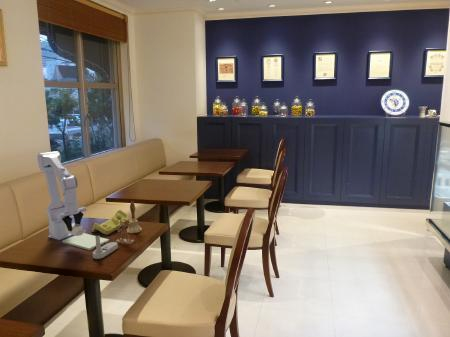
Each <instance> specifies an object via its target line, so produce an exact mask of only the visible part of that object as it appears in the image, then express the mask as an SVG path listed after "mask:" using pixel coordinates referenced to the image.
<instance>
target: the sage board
mask: <svg viewBox="0 0 450 337" xmlns="http://www.w3.org/2000/svg"><path fill="white" fill-rule="evenodd" d="M96 236H97V235H93V234H89V233H87V232H85V233H83V234H82V235H80V236H76V235H72V236H70V237H67V238H66V239H65V238H64V239H62V243H63V244H66V245H70V246H72V247H73V246H74V247H77V248H79V249H80V248H81V249H83V250H87V251H91V250H94V249H95V247H96ZM100 243H101V246H102V245H105V244H107V243H110V239H109V238H104V237H101V236H100ZM104 243H105V244H104Z"/></svg>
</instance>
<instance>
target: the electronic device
mask: <svg viewBox="0 0 450 337" xmlns="http://www.w3.org/2000/svg"><path fill="white" fill-rule="evenodd" d="M95 236H96V249H95V250H94V251H93V252H92V257H93V259H95V260H100V259H102V258H105V257H106V256H108V255H110V254H111V253H113V252H114V251H116V250H117V249H118V248H119V243H116V241H112V242H111V241H110V242H107V243H105V244H103V246H102V245H101V243H100V237H101V236H100V235H95Z"/></svg>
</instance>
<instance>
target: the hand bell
mask: <svg viewBox="0 0 450 337" xmlns="http://www.w3.org/2000/svg"><path fill="white" fill-rule="evenodd" d="M135 205H136V204H135V203H134V200H133V201H130V204H129V209H130V213H131V214H130V215H131V219H130V220H129V221H128V222H129V223H130V224H131V228H130V227H128V226H127V229H129V228H130V229H129V230H127V233H128V234H136V233H140V232H141V231H143V228H142V227H141V226H140V224H139V220H138V219H136V217H135V216H136V215H135V212H136V206H135Z"/></svg>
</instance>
